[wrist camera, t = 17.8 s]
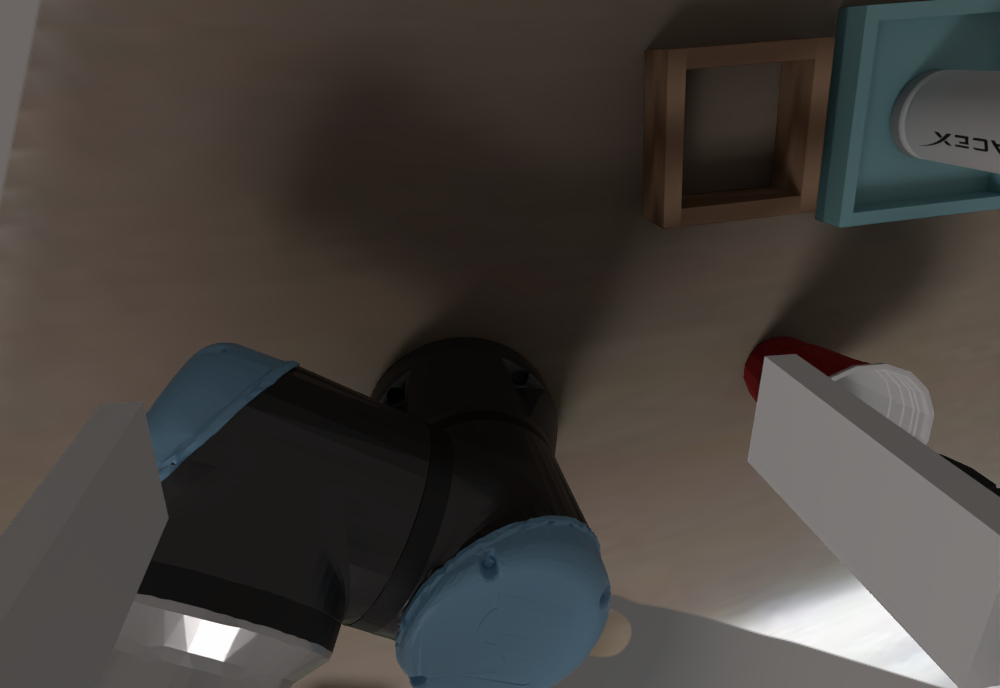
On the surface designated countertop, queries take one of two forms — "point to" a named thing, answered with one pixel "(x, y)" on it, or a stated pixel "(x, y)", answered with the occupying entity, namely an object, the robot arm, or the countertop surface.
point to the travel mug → (950, 118)
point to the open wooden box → (793, 144)
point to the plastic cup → (856, 382)
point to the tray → (870, 99)
